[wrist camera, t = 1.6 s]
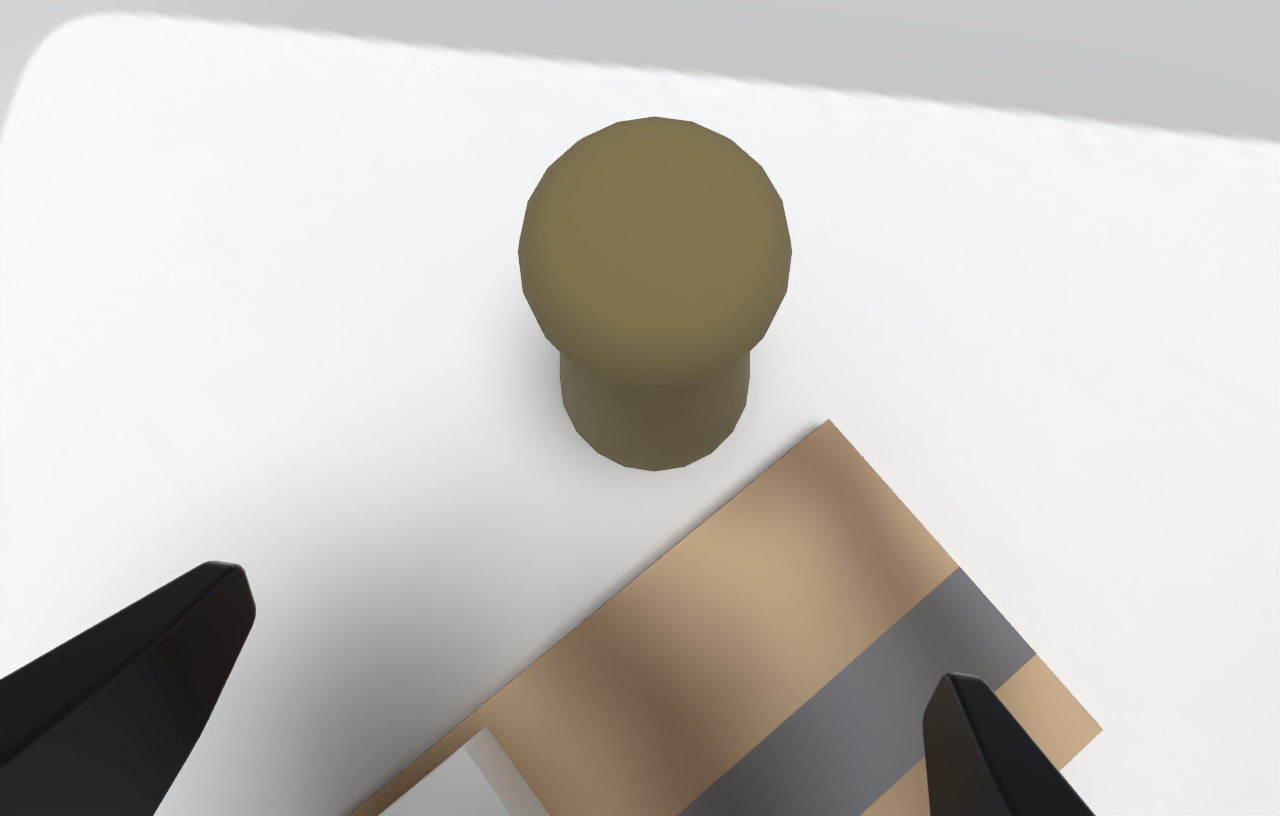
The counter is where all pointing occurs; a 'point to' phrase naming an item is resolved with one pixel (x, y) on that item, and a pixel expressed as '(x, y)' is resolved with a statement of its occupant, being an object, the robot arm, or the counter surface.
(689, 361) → the cork
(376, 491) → the counter surface
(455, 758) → the white rectangular prism
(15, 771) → the robot arm
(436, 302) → the counter surface
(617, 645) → the oak plank
